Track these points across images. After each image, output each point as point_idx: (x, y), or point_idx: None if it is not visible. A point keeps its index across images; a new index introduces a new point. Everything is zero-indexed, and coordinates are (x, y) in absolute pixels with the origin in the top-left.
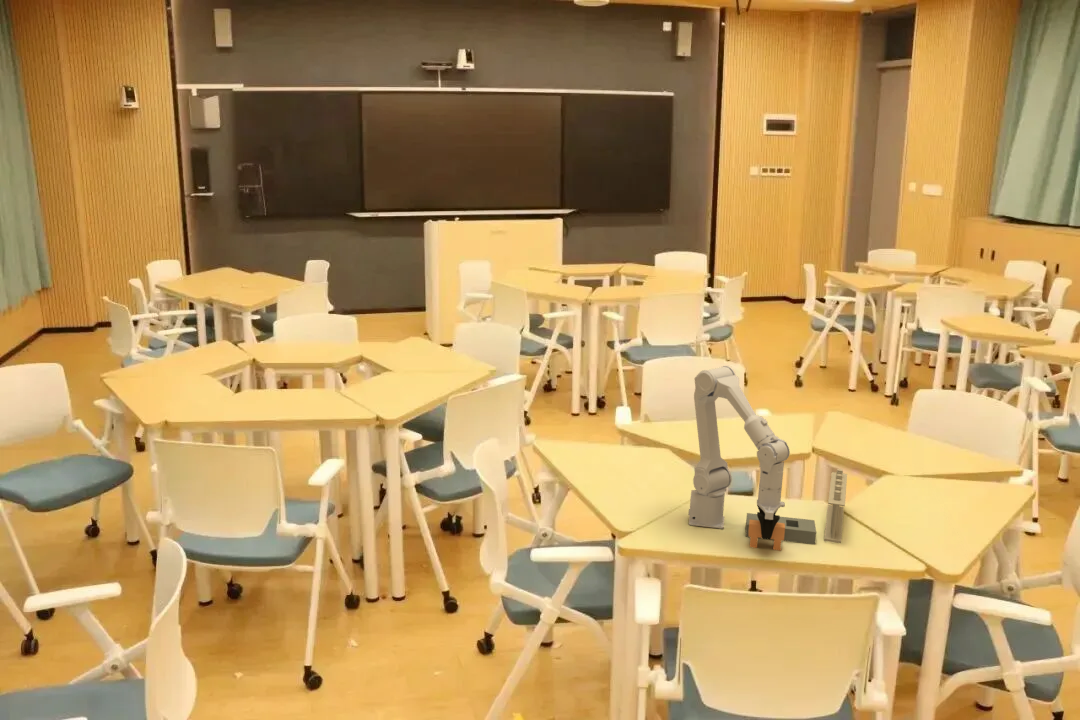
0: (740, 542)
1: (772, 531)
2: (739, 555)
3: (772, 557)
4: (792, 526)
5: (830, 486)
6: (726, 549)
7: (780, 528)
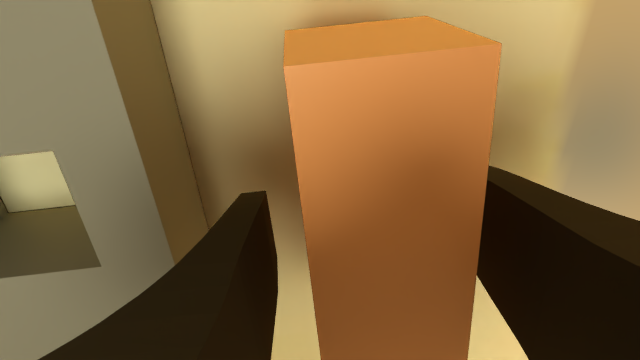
0: None
1: (574, 204)
2: None
3: (541, 83)
4: None
5: None
6: None
7: (483, 113)
